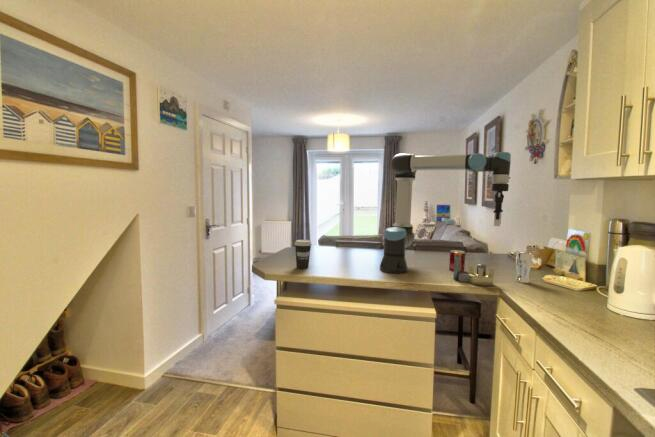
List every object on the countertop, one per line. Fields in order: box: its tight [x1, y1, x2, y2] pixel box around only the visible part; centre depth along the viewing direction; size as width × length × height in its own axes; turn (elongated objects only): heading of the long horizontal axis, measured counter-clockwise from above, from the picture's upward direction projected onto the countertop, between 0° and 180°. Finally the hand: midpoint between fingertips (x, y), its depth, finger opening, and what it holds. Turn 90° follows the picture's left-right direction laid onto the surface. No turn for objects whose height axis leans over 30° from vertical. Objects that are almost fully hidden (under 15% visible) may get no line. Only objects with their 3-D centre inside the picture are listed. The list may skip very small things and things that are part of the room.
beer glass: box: [515, 250, 533, 284], centre depth 164 cm, size 7×7×15 cm
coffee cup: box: [294, 239, 312, 270], centre depth 180 cm, size 10×10×15 cm
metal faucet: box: [452, 252, 495, 287], centre depth 160 cm, size 18×11×14 cm, turn 61°
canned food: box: [448, 249, 466, 272], centre depth 185 cm, size 8×8×11 cm
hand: (497, 225), depth 166 cm, fingers open, 13 cm apart
